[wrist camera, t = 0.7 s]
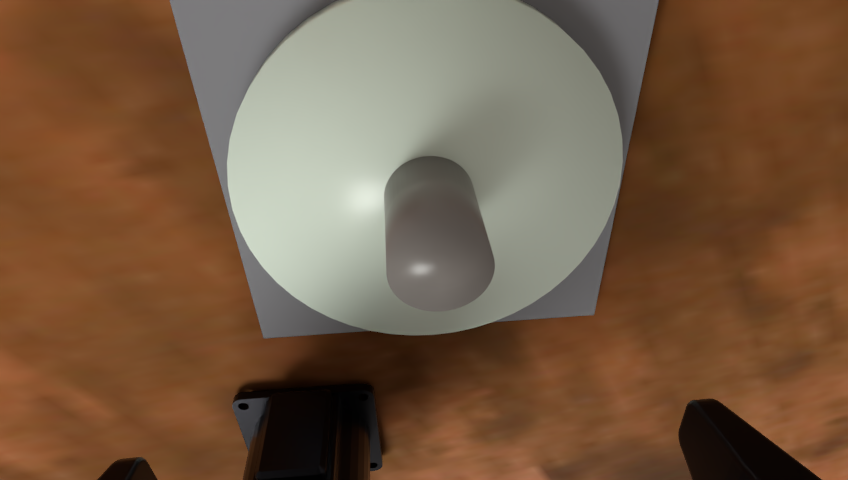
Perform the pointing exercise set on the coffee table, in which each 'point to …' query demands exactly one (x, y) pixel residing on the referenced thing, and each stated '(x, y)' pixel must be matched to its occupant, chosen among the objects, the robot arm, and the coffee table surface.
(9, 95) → the coffee table surface
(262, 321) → the mat
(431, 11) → the lid
